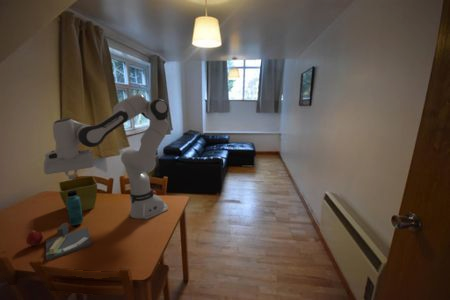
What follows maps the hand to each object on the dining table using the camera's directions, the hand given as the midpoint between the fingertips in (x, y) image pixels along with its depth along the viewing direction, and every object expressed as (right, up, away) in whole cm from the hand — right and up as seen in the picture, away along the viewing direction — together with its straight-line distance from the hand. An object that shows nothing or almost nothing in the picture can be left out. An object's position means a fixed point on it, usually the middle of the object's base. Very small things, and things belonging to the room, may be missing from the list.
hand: (72, 178), depth 107 cm
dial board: (+2, -31, -4) cm, 31 cm away
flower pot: (-16, -23, +30) cm, 41 cm away
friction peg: (-1, -30, -7) cm, 31 cm away
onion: (-13, -31, -6) cm, 34 cm away
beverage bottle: (-5, -27, +11) cm, 30 cm away
